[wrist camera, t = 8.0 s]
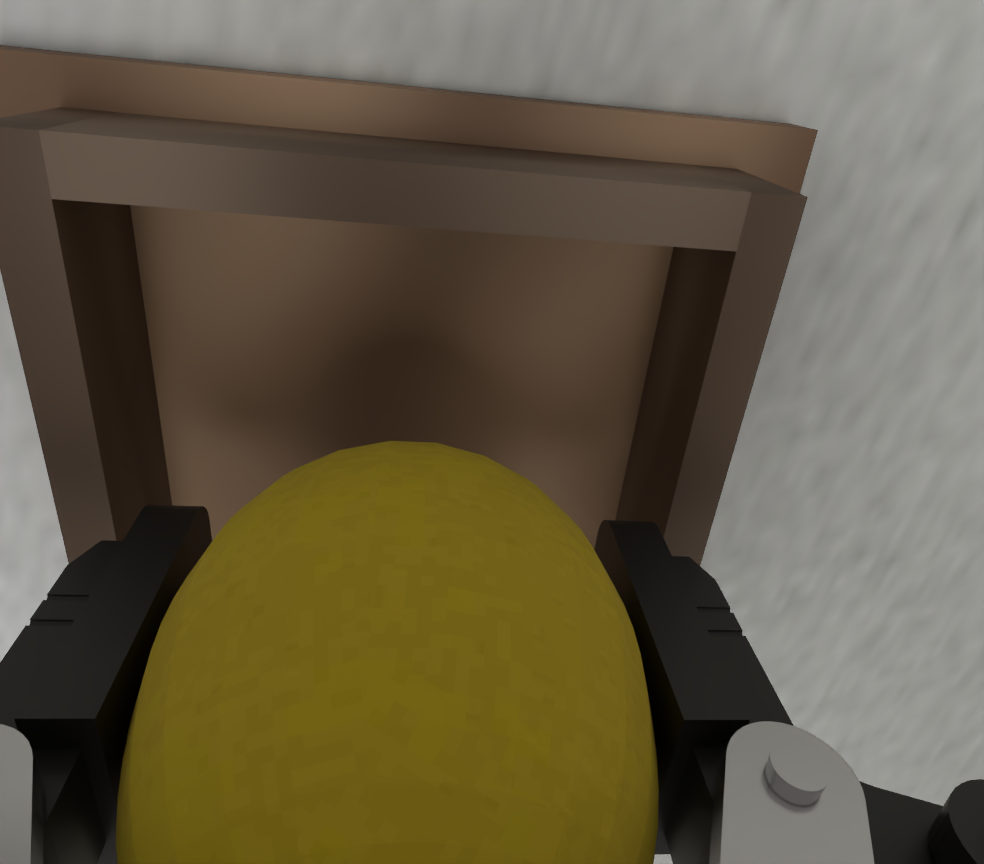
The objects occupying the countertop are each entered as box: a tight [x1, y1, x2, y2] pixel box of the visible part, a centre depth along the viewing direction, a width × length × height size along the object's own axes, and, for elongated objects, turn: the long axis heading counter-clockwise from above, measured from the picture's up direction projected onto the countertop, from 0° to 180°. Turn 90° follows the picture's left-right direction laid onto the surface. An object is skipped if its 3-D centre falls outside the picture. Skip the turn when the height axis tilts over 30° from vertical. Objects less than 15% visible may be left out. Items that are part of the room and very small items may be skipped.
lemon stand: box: [0, 45, 818, 566], centre depth 13 cm, size 13×12×4 cm
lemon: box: [116, 441, 659, 864], centre depth 8 cm, size 6×6×8 cm
